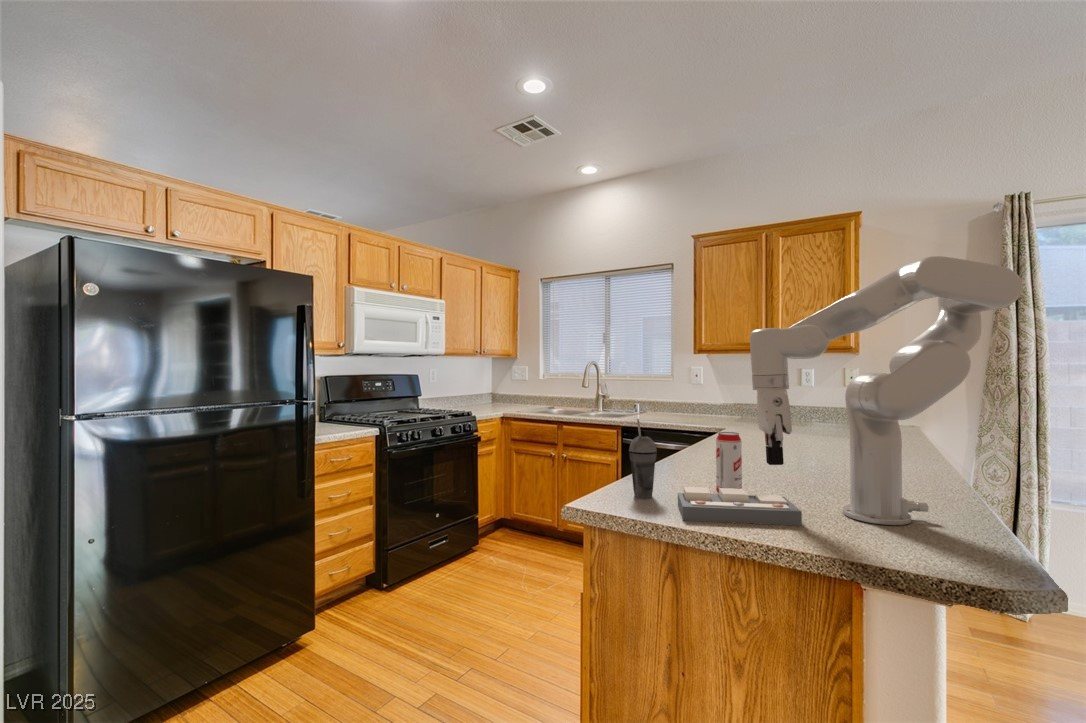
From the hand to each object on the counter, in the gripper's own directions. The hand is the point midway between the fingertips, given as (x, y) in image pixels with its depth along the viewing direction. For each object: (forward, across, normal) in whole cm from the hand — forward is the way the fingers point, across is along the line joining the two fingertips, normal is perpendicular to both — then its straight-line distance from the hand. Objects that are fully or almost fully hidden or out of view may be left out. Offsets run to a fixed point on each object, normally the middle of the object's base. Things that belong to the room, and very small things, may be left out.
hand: (775, 464), depth 113 cm
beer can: (+11, +16, +8) cm, 21 cm away
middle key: (+9, 0, +10) cm, 13 cm away
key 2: (+11, 0, +2) cm, 11 cm away
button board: (+11, -2, +10) cm, 15 cm away
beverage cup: (+10, +11, +30) cm, 33 cm away
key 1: (+9, 0, +18) cm, 20 cm away
